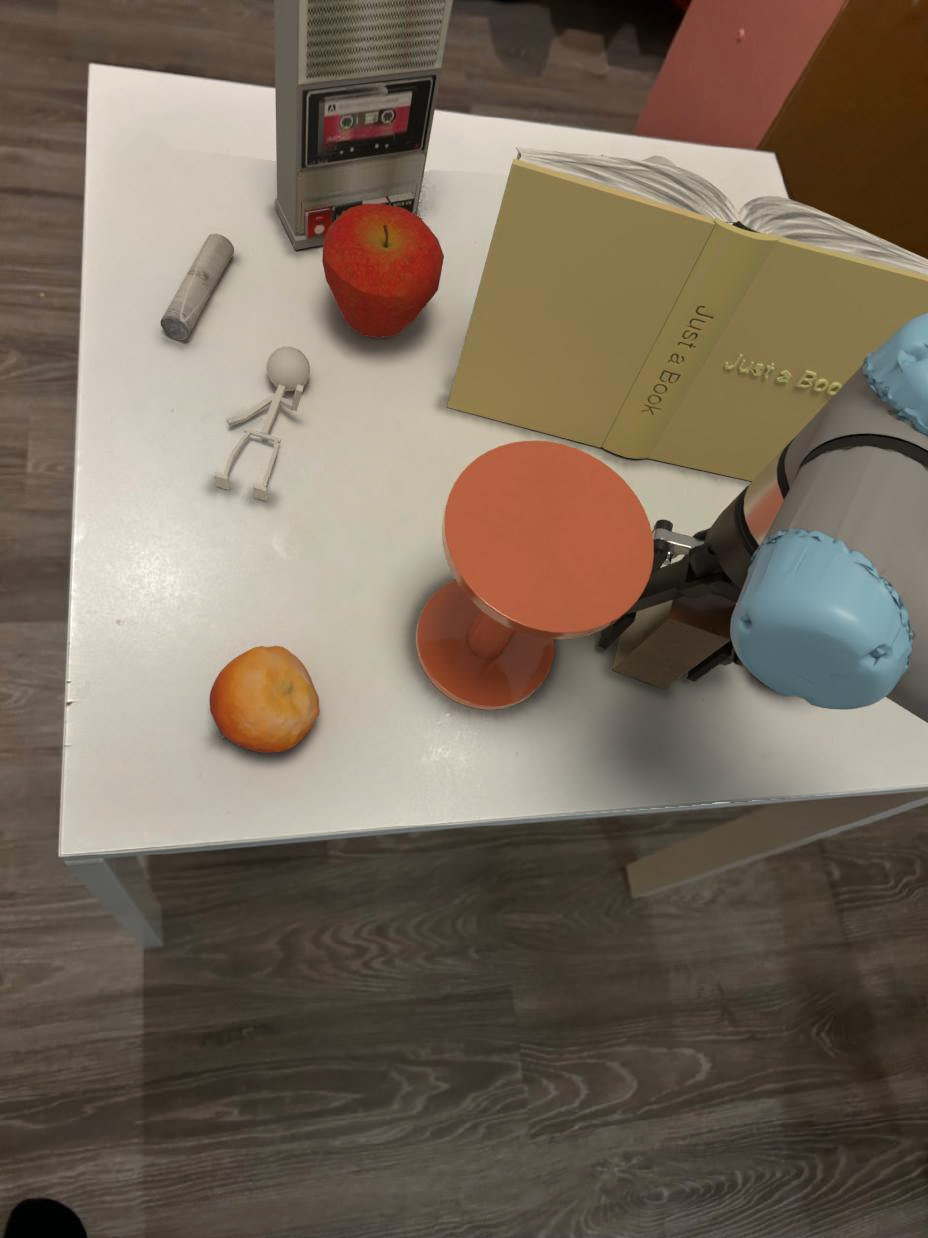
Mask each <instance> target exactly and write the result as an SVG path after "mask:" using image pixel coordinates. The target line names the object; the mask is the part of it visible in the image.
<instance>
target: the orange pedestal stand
mask: <svg viewBox="0 0 928 1238" xmlns="http://www.w3.org/2000/svg"><path fill="white" fill-rule="evenodd" d="M441 520H442V521H441V542H442V547H443V552H444V553H443V554H444V556H445V559H446V562H447V565H448V568H449V569H450V572H451V575H452V576H453V578H454V580H452V581H450V582H448V583H446V584H445V585H443V586H441V587H440V588H439V589H438V590H436V592H435V593H433V594H432V595H431V596H430V598H429V599H428V600H427V601H426V603H425V605H424V606H423V609H422V611H421V613H420V615H419V617H418V621H417V625H416V630H415V647H416V654H417V659H418V661H419V664H420V665H421V668H422V670H423V672H424V674H425V675H426V677H427V679H429V681H430V683H432V684H433V686H434V687H435V688H436V689H437V690H438V691H439V692H440V693H442V694H443V695H444V696H446V697H447V698H448V699H450V700H452V701H454V702H456V703H458V704H460V705H463V706H465V707H469V708H472V709H477V710H484V711H485V710H486V711H488V710H489V711H492V710H502V709H507V708H509V707H512V706H515V705H518V704H520V703H521V702H523V701H525V700H526V699H528V698H529V697H531V695H533V694H534V693H535V692H536V691H537V690H538V688H539V687H540V686H542V684H543V682H544V681H545V680H546V678H547V676H548V674H549V673H550V670H551V668H552V664H553V662H554V661H553V660H554V655H555V641H554V640H570V639H578V638H582V637H588V636H591V635H594V634H597V633H598V632H602V630H603V629H605V628H607V627H609V626H610V625H612V624H613V623H615V622H616V621H617V620H619V619H620V618H621V617H622V616H623V615H624V614H625V613H626V612H627V611H628V610H629V609H630V608H631V607H632V606H633V605H634V604H635V603H636V602H637V600H638V599H639V597H640V596H641V594H642V593H643V592H644V589H645V587H646V585H647V583H648V581H649V578H650V575H651V571H652V566H653V559H654V543H653V536H652V531H653V529H652V527H651V525H650V520H649V517H648V516H647V513H646V511H645V509H644V506H643V505H642V503H641V500H639V497H638V496H637V494H635V491H633V489H632V488H631V487H630V485H629V484H628V483H627V482H626V481H625V480H624V479H623V478H622V477H621V475H619V474H618V473H617V472H616V471H615V470H613V469H612V467H610V466H608V465H607V464H606V463H604V462H603V461H601V460H600V459H598V458H597V457H595V456H594V455H591V454H589V453H588V452H585V451H583V450H581V449H578V448H576V447H573V446H569V445H567V444H563V443H559V442H553V441H547V440H521V441H515V442H510V443H507V444H502V445H500V446H497V447H495V448H494V447H493V448H492V449H490V450H488V451H486V452H484V453H483V454H481V455H480V456H477V458H475V459H474V460H473V461H472V462H470V463H469V464H468V465H467V466H466V467H465V468H464V469H463V471H462V472H461V473H460V474H459V476H458V477H457V479H456V480H455V481H454V483H453V486H452V488H451V490H450V491H449V494H448V497H447V499H446V503H445V506H444V509H443V515H442V519H441Z"/></svg>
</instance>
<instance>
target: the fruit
mask: <svg viewBox="0 0 928 1238" xmlns="http://www.w3.org/2000/svg"><path fill="white" fill-rule="evenodd" d="M208 701H209V711H210V714H211V716H212V719H213V721H214V723H215V725H216V727H217V728H218V730H219V731H220V732H221V734H222V735H221V736H220V737H219V739H220V740H223V739H225V738H226V739H228V740H229V741H230V742H232V743H233V744H234V745H237V746H239V747H241V748H243V749H246V750H249V751H254V752H258V753H265V754H267V753H268V754H269V753H281V752H284V751H287V750H290V749H293V748H294V747H295V746H297V744H299V743H300V742H301V741H302V740H303V739H304V738H305V737H306V736H307V735H308V734H309V732H310V731H311V730H312V728H313V726H314V724H315V723H316V721H317V719H318V717H319V715H320V712H321V710H320V698H319V695H318V692H317V689H316V688H315V685H314V683H313V680H312V676H311V675H310V673H309V671H308V669H307V668H306V666H305V664H304V663H303V662H302V661H301V660H300V658H299V657H298V656H296V655H295V654H293V653H292V652H291V651H290V650H289V649H287V648H285V647H284V646H280V645H273V646H263V645H260V646H255V647H252V648H251V649H249V650H246V651H245V652H243V653H241V654H239V655H237V656H236V657H235V658H233V659H231V660H230V661H229V662H228V663H227V664H226V665H225V666H224V667H223V668H222V669H221V670H220V672H219V673H218V674H217V676H216V678H215V680H214V682H213V684H212V686H211V689H210V692H209V700H208Z"/></svg>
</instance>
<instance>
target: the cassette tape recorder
mask: <svg viewBox="0 0 928 1238" xmlns="http://www.w3.org/2000/svg"><path fill="white" fill-rule="evenodd" d="M453 4H454V0H273V17H274V18H273V20H274V21H273V22H274V23H273V25H274V27H273V28H274V84H275V85H274V88H275V90H274V91H275V93H274V94H275V95H274V97H275V151H276V152H275V153H276V157H275V159H276V160H275V161H276V198H275V199H274V209H275V210H276V212H277V215H278V216H279V218H280V220H281V223H282V224H283V227H284V228H285V232H286V233H287V235H288V237H289V240H290V241H291V243H292V245H293V247H294V249H295V250H301V249H308V248H313V247H318V246H319V247H320V246H323V242H324V240H325V237H326V234H327V231H328V228H329V226H330V225H331V224H332V223H333V222H334V221H335V220H336V219H337V218H338V217H339V216H340V215H341V214H342V213H343V212H345V211H347V210H348V209H350V208H352V207H356V206H359V205H363V204H386V205H391V206H396V207H401V208H404V209H406V210H408V211H410V212H411V213H413V214H415V215H417V216H419V217H420V215H419V213H418V210H419V205H420V199H421V192H422V187H423V181H424V175H425V169H426V162H427V157H428V151H429V146H430V139H431V134H432V128H433V122H434V116H435V112H436V111H435V110H436V105H437V99H438V93H439V87H440V81H441V75H442V70H443V63H444V57H445V51H446V46H447V39H448V35H449V34H448V33H449V28H450V23H451V22H450V21H451V16H452V10H453Z"/></svg>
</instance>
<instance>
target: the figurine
mask: <svg viewBox="0 0 928 1238" xmlns="http://www.w3.org/2000/svg"><path fill="white" fill-rule="evenodd" d="M266 373H267V376H268V379H269V380H270V382H271V383H272V384H273V385H274V386H275V387H276V390H275V393H271V394H269V395H268V396H267V397H266V398H263V400H261V401H260V402H258V403H256V404H255V405H254V406H252V407H251V408H249V409H247V410H246V411H245V412H243V413H242V414H239V415H235V416H230V417H228V418H225V420H226V423H227V425H229V426H234V425H237V424H241V423H244V422H246V421H248V420H249V419H251V418H253V417H254V416H255V415H257V414H258V413H260V412H261V411H263V410H264V409H265V408H267V407H269V408H268V410H267V413H266V416H265V419H264V422H263V425H262V427H261V430H260V431H256V430H255V429H252V428H248V427H244V430H243V433H244V434H243V435H242V436H241V438H240V439H239V440H238V442H237V444H236V445H235V446H234V448H233V449H232V450H231V452H230V453H229V455H228V456H229V457H228V459H227V462H226V464H225V468H224V471H223V473H219V472H216V471H215V472H214V475H213V477H214V482H215V486H216V487H217V488H219V489H224V490H227V491H230V489H231V482H230V479H229V475H230V471H231V468H232V465H233V462H234V459H235V457H236V456H237V454H238V452H239V451H240V450H241V449H242V447H243V445H244V444H245V442H246V441H247V440H248V438H249V437H250V436H254V437H257V438H260V439H264V440H266V441H270V442H273V450H272V452H271V455H270V459H269V461H268V464H267V468H266V471H265V474H264V477H263V480H262V482H261V485H259V484H257V483H254V484H253V486H252V489H253V497H254V499H257V500H261V501H263V502H268V500H269V493H268V492H269V491H268V487H267V485H268V482H269V479H270V476H271V473H272V470H273V469H274V468H273V467H274V465H275V461H276V458H277V456H278V452H279V444H281V442H282V438H280V437H277V436H274V435H271V434H269V433H270V431H271V429H272V426H273V424H274V421H275V419H276V416H277V414H278V411H279V409H280V407H281V406H282V407H284V408H285V409H287V410H289V411H292V412H293V411H295V412H297V411H298V408H299V404H300V402H301V399H302V395H303V392H304V386H305V385H306V384H307V382H308V380H309V379H310V374H311V366H310V362H309V359H308V358H307V356H306V354H305V353H303V352H302V351H301V350H300V349H298V348H296V347H293V346H282V347H278V348H276V349H275V350H274V351H272V353H271V354H270V355H269V357H268V359H267V362H266ZM285 392H294V395H293V398H292V401H291V400H289V399H287V398H285V397H284V395H285Z"/></svg>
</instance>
